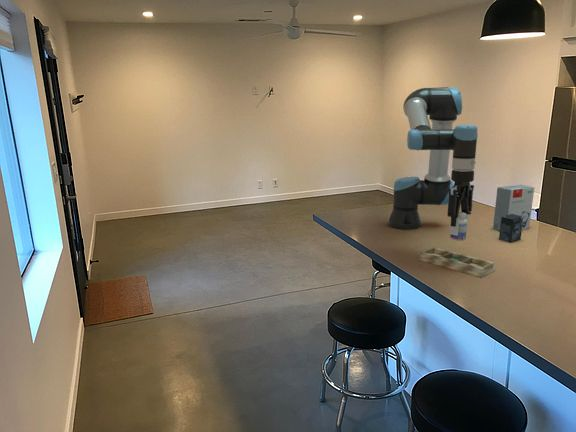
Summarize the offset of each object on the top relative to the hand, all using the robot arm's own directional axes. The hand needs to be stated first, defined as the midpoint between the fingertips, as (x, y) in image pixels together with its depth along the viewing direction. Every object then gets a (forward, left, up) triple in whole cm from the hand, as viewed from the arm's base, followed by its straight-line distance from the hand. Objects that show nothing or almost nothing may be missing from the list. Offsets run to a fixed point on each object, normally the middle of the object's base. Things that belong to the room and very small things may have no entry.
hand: (458, 232), depth 171 cm
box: (0, +45, -13) cm, 47 cm away
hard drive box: (-7, +62, -13) cm, 64 cm away
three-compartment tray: (0, 0, -13) cm, 13 cm away
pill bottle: (0, 0, -3) cm, 3 cm away
